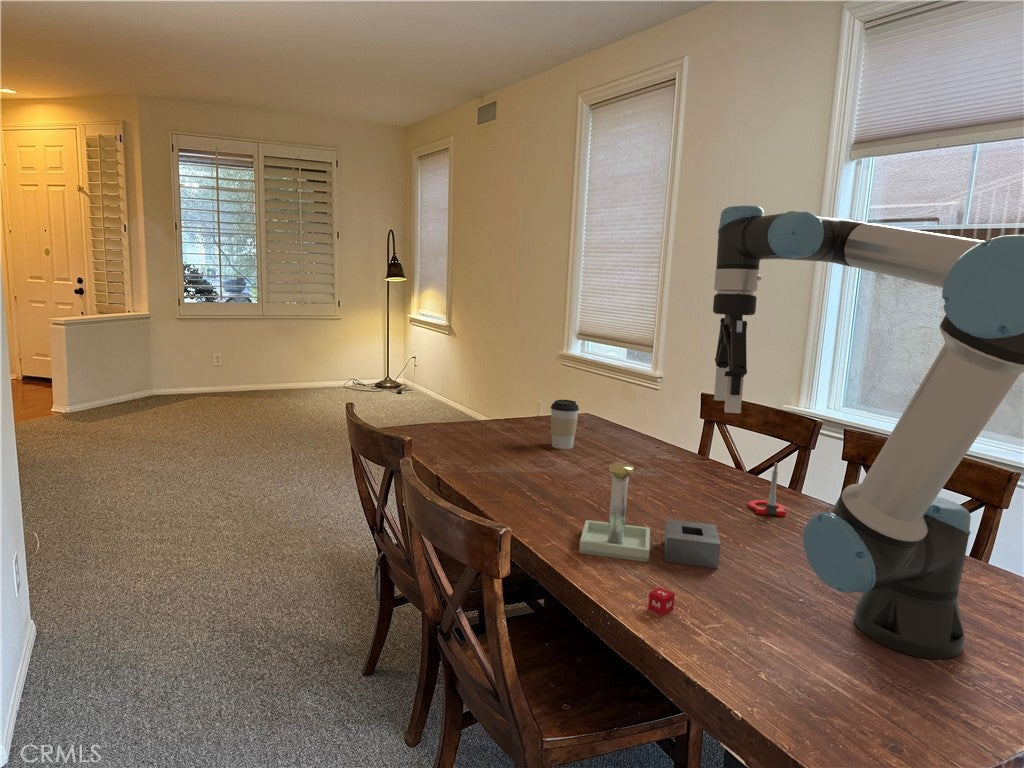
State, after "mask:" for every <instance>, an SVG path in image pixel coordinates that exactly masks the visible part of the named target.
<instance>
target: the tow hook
mask: <svg viewBox="0 0 1024 768" xmlns="http://www.w3.org/2000/svg"><path fill="white" fill-rule="evenodd" d="M778 466H779V463H778V462H774V464H773V471H772V474H771V484H770V492H769V494H768V500H761V499H754V500H750V501H748V507H749V508H750V509H751V510H754V511H755V514H757V515H764V514H765V515H766V516H770V515H773V517H775V516H776V517H777V516H778V517H786V515H787V512H786V507H785V506H784V505H782V504H780V503H777V502H776V500H777V494H776V491H777V483H778V472H779V471H778ZM758 504H765V505H764V506H765V508H764V507H762V506H760V505H758ZM777 508H778V509H777ZM765 515H764V516H765Z"/></svg>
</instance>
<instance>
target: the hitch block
mask: <svg viewBox="0 0 1024 768" xmlns="http://www.w3.org/2000/svg"><path fill="white" fill-rule="evenodd" d="M664 531H665V532H664V542H663V543H664V545H663V546H664V562H666V563H674V564H681V565H689V566H697V567H703V568H711V569H719V562H720V553H721V552H720V551H721V544H722V543H721V540H720V536H719V532H718V528H717V525H716V524H712V523H704V522H703V523H702V522H694V521H685V520H678V519H668V518H666V520H665V530H664Z"/></svg>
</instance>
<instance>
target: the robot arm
mask: <svg viewBox="0 0 1024 768" xmlns="http://www.w3.org/2000/svg"><path fill="white" fill-rule="evenodd" d="M717 233H718V235H717V236H718V239H717V251H716V252H717V253H716V266H715V267H716V269H715V273H714V274H715V275H714V284H713V286H714V287H713V289H714V291H716V293H715V294H714V295H713V305H712V312H713V313H714V314H717V315H724V317H721V318H720V326H719V335H718V339H717V341H718V342H717V347H716V353H715V358H714V363H715V366H716V368H715V379H714V395H713V401H719V402H720V401H722V402H723V401H724V413H727V414H729V413H730V414H741V413H742V403H743V402H742V400H743V390H744V389H743V388H744V387H743V386H744V377H745V376H746V375H747V373H748V370H747V364H748V363H747V358H748V357H747V328H748V321H747V320H744V319H743V317H744V316H753V315H755V314H756V310H757V296H756V295H755V294H754V293H755V292H757V291H758V282H760V281H761V280H762V276H761V275H759V270H760V261H762V260H792V261H793V260H794V261H808V262H809V261H810V262H824V263H825V262H826V263H832V264H836V265H842V266H846V267H850V268H852V267H853V268H857V269H860V270H864V271H870V272H874V273H878V274H882V275H887V276H890V277H893V278H894V277H895V278H899V279H904V280H907V281H912V282H917V283H920V284H925V285H929V286H932V287H937V288H941V289H942V291H941V299H943V300H944V304H943V309H944V313H945V316H944V317H943V319H942V321H941V322H940V325H939V327H938V328H939V330H940V333H941V334H942V337H943V339H944V340H943V341H944V344H943V346H941V349H940V351H939V352H938V354H937V356H936V358H935V359H934V360H933V362H932V364H931V365H930V368H929V369H928V371H927V373H926V375H925V376H924V378H923V380H922V381H921V383H920V384H919V386H918V387H917V390H916V391H915V393H914V394H913V397H912V398H911V400H910V401H909V403H908V405H906V407H905V410H904V412H903V413H902V415H901V416H900V417H899V420H898V421H897V423H896V425H895V427H894V428H893V430H892V431H891V433H890V434H889V436H888V438H887V440H886V441H885V443H884V445H883V446H882V448H881V450H880V452H879V453H878V455H877V456H876V458H875V460H874V461H873V463H872V465H871V466H870V468H869V469H868V472H867V473H866V475H865V476H864V478H863V479H862V482H861V483H853V484H849V485H847V486H846V487H845V488H844V489H843V490H842V493H841V495H839V497H838V499H837V501H836V502H835V504H834V506H833V508H832V509H831V510H830V511H823V512H822V511H821V512H819V513H818V514H815V515H814V516H812V517H811V518H810V519H808V521H807V522H806V524H805V527H804V529H803V535H802V536H803V537H802V543H803V545H802V546H803V550H804V551H805V552H804V553H805V554H806V559H807V562H808V564H809V566H810V567H811V569H812V570H813V572H814V574H815V575H816V576H817V577H818V578H819V579H820V580H821V581H822V582H823V583H824V584H826V586H828V587H830V589H832V590H835V591H837V592H840V593H845V594H854V593H859V594H860V593H861V596H860V597H859V600H857V603H856V605H855V609H854V610H855V611H854V616H853V619H854V624H855V625H856V626H857V628H858V629H859V630H860V631H861V632H862V633H864V634H865V635H866V636H867V637H868V638H870V639H871V640H874V641H875V642H877V643H879V644H881V646H882V645H883V646H884V647H887V648H889V649H892V650H894V651H897V652H899V653H903V654H906V655H910V656H912V657H913V656H914V657H918V658H923V659H931V660H948V659H952V658H957V657H958V656H959V655H961V654H962V653H963V648H964V644H965V631H964V625H963V622H962V617H961V616H962V615H961V612H960V607H959V603H958V598H959V591H960V585H961V580H962V574H963V569H964V564H965V558H966V554H967V549H968V548H967V547H968V542H969V537H970V535H971V530H970V528H971V527H970V526H971V520H972V519H971V518H972V517H971V513H970V512H969V510H968V509H967V508H966V507H964V506H963V505H961V504H960V503H957V502H954V501H952V500H950V499H948V498H947V499H946V498H944V497H940V496H938V495H939V494H940V492H941V491H942V489H943V488H944V487H945V485H946V483H947V482H948V480H949V479H950V478H951V476H952V475H953V474H954V472H955V470H956V469H957V467H958V466H959V465H960V463H961V462H962V460H963V459H964V458H965V456H966V454H967V453H968V452H969V450H970V449H971V448H972V446H973V444H974V442H975V441H976V440H977V438H978V437H979V435H980V434H981V432H983V431H982V430H984V428H985V427H986V425H987V424H988V422H989V420H990V419H991V417H992V416H993V415H994V414H995V412H996V411H997V409H998V408H999V406H1000V405H1001V403H1002V402H1003V401H1004V399H1005V397H1006V396H1007V394H1008V393H1009V391H1010V390H1011V388H1012V387H1013V386H1014V384H1015V383H1016V381H1017V380H1018V378H1019V377H1020V376H1021V374H1023V373H1024V233H1021V234H1020V233H1019V234H1009V235H1001V236H997V237H993V238H989V239H987V240H981V239H973V238H967V237H961V236H955V235H948V234H942V233H936V232H935V233H934V232H929V231H924V230H923V231H922V230H915V229H910V228H903V227H897V226H896V227H895V226H889V225H884V224H877V223H871V222H870V223H869V222H864V221H862V220H861V221H860V220H857V219H853V218H851V219H850V218H837V217H836V218H835V217H834V218H833V217H824V216H823V217H822V216H816V214H815V213H813V212H810V211H796V210H791V211H787V212H783V213H776V214H768V215H765V213H764V208H762V207H761V206H757V205H733V206H728V207H725V208H724V209H722V211H721V214H720V219H719V225H718V229H717Z"/></svg>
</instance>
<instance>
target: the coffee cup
mask: <svg viewBox="0 0 1024 768" xmlns="http://www.w3.org/2000/svg"><path fill="white" fill-rule="evenodd" d="M550 410H551V411H550V412H551V414H550V427H551V430H550V432H551V446H552V447H553V448H555V449H558V450H570V449H573V448H574V443H575V437H576V436H575V435H576V430H577V425H578V418H579V416H578V415H579V410H580V407H579V405H578V404H577V401H575V400H571V399H556V400H555V401H554V402H553V403H552V404H551V406H550Z"/></svg>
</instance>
